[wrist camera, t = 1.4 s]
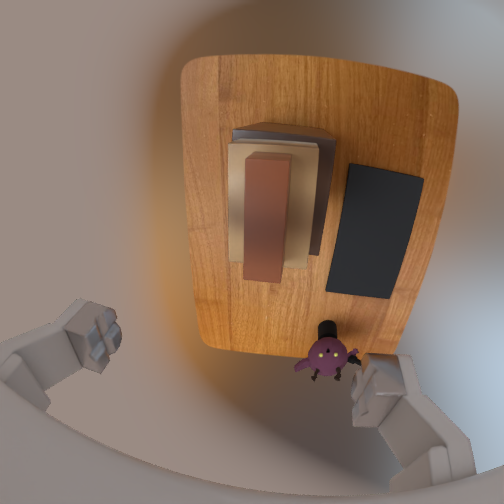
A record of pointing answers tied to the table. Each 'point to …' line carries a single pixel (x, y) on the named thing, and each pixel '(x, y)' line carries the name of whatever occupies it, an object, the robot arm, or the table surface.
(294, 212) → the stepped wooden block
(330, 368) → the figurine
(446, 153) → the table surface
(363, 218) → the mat
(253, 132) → the riser
